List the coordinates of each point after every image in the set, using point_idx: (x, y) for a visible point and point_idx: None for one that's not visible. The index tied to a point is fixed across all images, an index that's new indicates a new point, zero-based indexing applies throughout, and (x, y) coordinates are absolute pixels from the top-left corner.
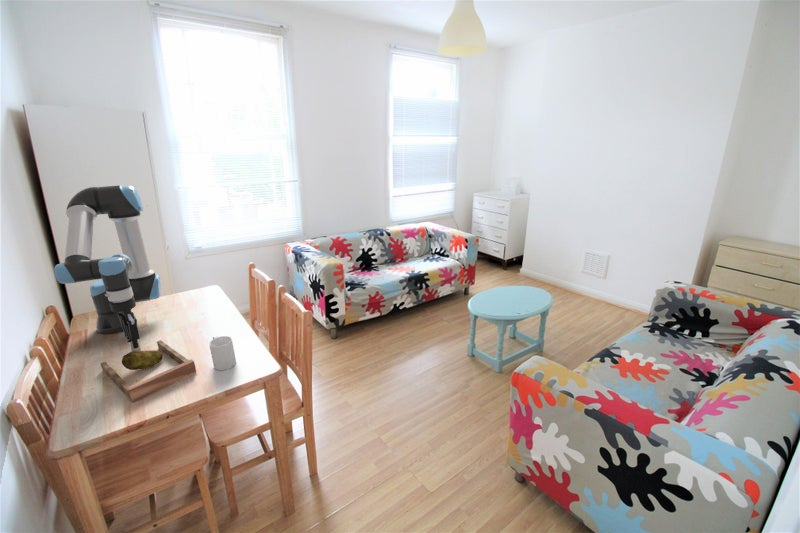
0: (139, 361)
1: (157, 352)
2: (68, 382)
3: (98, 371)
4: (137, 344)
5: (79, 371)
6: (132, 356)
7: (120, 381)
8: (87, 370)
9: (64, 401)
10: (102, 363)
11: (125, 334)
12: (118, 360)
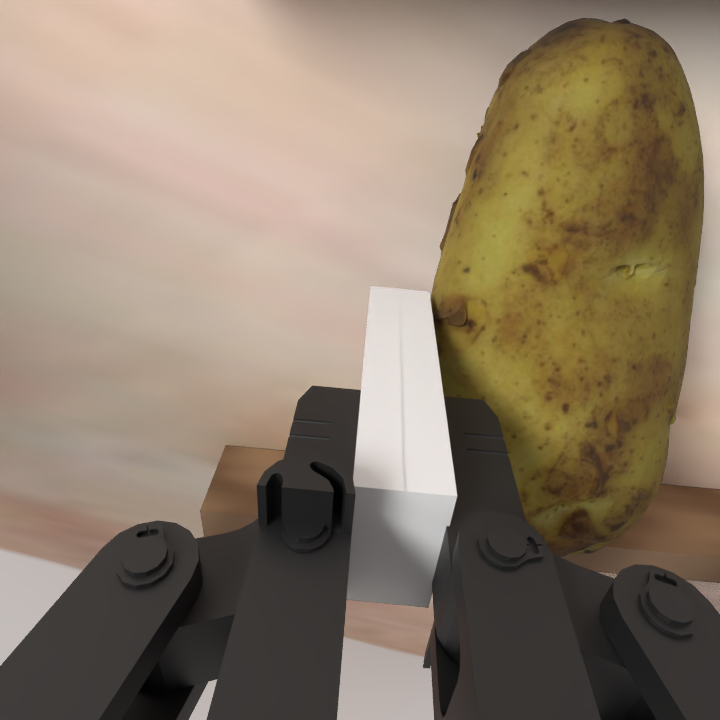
0: (669, 425)
1: (664, 127)
2: None
3: (201, 483)
4: (504, 456)
5: (91, 533)
6: (630, 522)
7: (708, 573)
8: (117, 509)
9: (415, 650)
10: (220, 529)
11: (190, 708)
12: (116, 342)
